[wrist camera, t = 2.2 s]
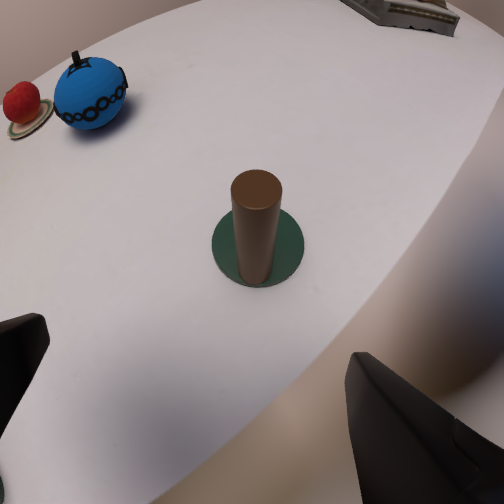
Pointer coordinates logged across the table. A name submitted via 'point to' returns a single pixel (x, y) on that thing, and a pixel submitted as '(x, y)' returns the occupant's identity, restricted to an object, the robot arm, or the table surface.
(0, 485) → the tin
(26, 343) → the robot arm
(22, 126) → the apple
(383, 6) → the bible
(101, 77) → the ornament
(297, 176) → the table surface
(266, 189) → the green base with peg
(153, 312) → the table surface
